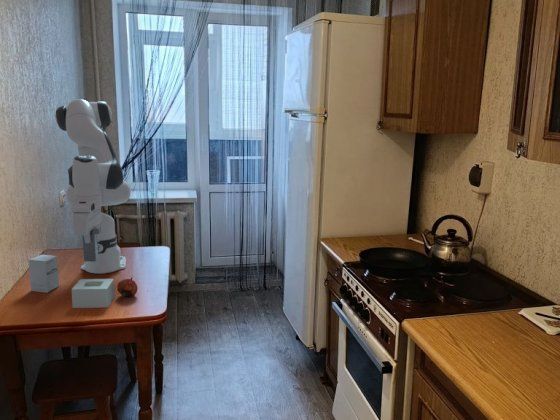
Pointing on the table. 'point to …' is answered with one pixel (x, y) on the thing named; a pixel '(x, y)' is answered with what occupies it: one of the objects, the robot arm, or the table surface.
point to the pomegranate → (127, 288)
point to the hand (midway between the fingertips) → (90, 240)
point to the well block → (93, 293)
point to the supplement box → (43, 273)
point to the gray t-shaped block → (91, 246)
